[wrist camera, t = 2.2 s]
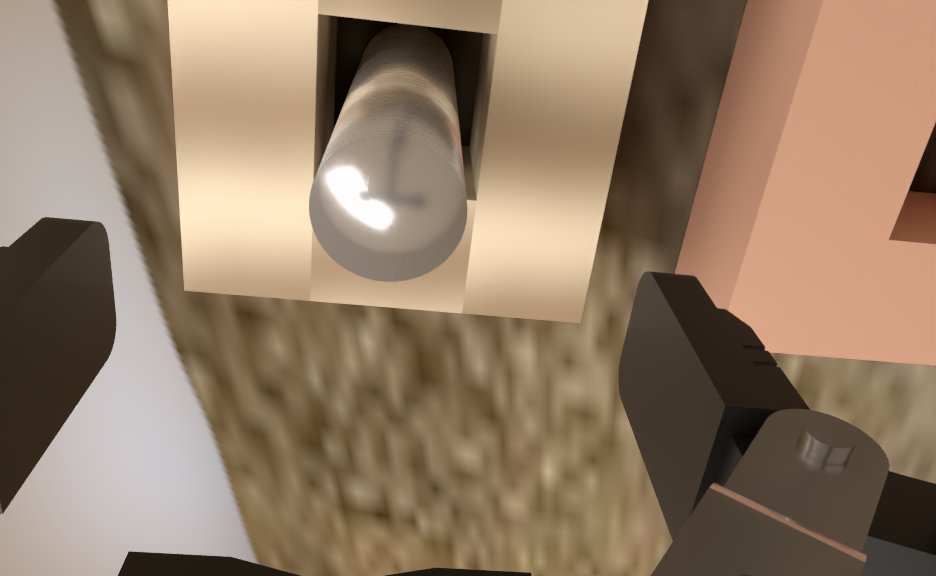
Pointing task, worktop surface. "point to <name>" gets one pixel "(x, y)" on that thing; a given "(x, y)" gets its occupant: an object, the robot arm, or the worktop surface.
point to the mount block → (486, 160)
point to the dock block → (823, 181)
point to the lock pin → (394, 162)
